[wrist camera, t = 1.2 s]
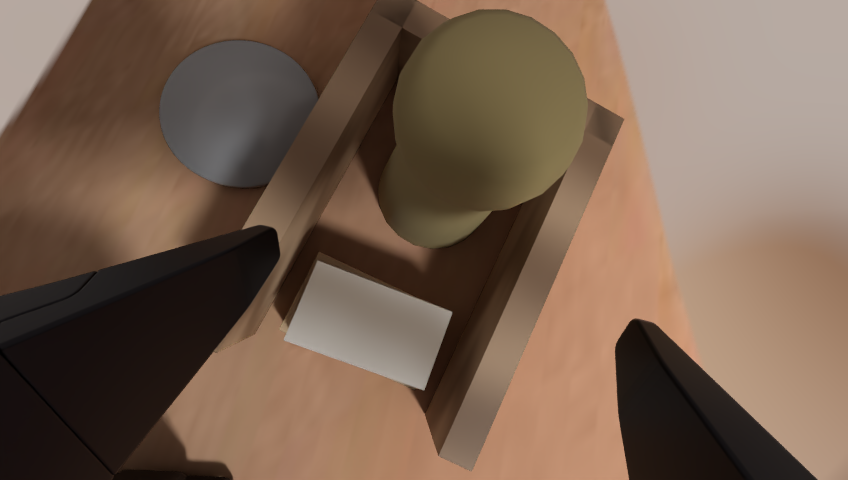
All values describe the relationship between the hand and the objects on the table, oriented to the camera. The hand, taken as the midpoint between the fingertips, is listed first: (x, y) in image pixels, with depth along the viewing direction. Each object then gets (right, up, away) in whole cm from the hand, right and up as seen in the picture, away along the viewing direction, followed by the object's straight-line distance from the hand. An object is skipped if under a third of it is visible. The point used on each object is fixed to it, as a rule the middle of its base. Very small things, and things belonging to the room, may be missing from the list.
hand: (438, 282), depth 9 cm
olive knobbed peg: (0, +4, +10) cm, 11 cm away
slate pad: (-10, +7, +9) cm, 15 cm away
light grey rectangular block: (-3, -3, +9) cm, 10 cm away
